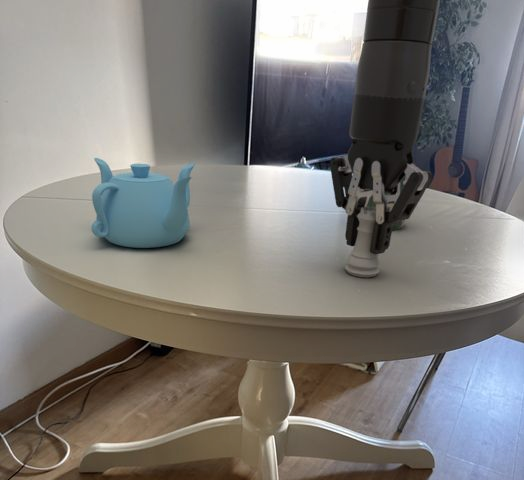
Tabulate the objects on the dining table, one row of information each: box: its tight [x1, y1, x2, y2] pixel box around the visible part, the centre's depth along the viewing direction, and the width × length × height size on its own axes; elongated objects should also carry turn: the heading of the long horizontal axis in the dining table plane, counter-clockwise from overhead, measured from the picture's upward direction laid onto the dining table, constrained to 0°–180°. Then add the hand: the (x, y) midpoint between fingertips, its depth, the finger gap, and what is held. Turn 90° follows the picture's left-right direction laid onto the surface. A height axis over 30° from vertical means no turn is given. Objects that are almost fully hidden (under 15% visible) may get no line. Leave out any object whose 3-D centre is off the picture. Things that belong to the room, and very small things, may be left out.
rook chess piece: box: [344, 207, 381, 278], centre depth 60 cm, size 4×4×8 cm
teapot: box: [91, 157, 196, 249], centre depth 68 cm, size 15×15×10 cm
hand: (365, 248), depth 60 cm, fingers closed on rook chess piece, 3 cm apart
